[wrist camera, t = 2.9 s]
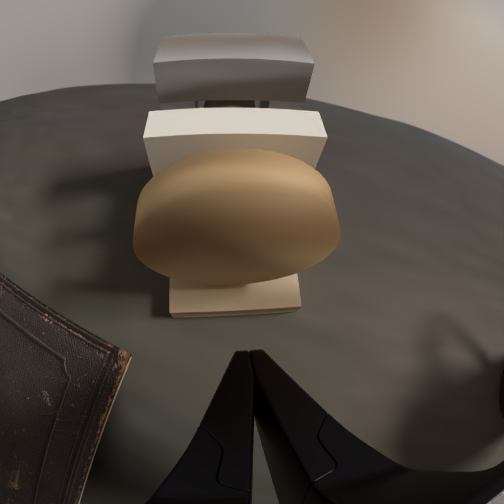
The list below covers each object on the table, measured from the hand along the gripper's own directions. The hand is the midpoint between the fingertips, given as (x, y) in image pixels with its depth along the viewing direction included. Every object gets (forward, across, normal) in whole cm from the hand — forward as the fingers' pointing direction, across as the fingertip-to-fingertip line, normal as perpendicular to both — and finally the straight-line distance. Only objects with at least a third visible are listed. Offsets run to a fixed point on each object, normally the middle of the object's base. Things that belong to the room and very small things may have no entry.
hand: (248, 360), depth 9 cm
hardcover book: (+1, +18, +10) cm, 20 cm away
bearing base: (+12, 0, -1) cm, 12 cm away
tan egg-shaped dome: (+10, 0, -2) cm, 10 cm away
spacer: (+10, 0, -2) cm, 10 cm away
